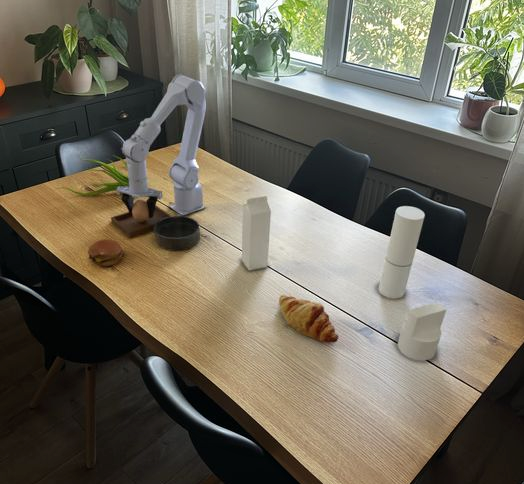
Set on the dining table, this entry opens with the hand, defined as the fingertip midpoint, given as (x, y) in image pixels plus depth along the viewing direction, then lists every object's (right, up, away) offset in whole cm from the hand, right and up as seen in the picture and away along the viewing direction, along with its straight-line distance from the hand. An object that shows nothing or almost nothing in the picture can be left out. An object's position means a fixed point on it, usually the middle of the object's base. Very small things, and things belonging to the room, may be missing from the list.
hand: (141, 215), depth 164 cm
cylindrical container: (+76, -24, -23) cm, 83 cm away
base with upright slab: (+78, -37, -42) cm, 96 cm away
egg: (0, -2, +1) cm, 2 cm away
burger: (-7, -15, -16) cm, 23 cm away
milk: (+37, -16, -15) cm, 43 cm away
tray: (0, -2, +2) cm, 3 cm away
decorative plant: (-19, +10, +17) cm, 27 cm away
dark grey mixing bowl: (+13, -8, -6) cm, 16 cm away
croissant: (+51, -32, -36) cm, 70 cm away
